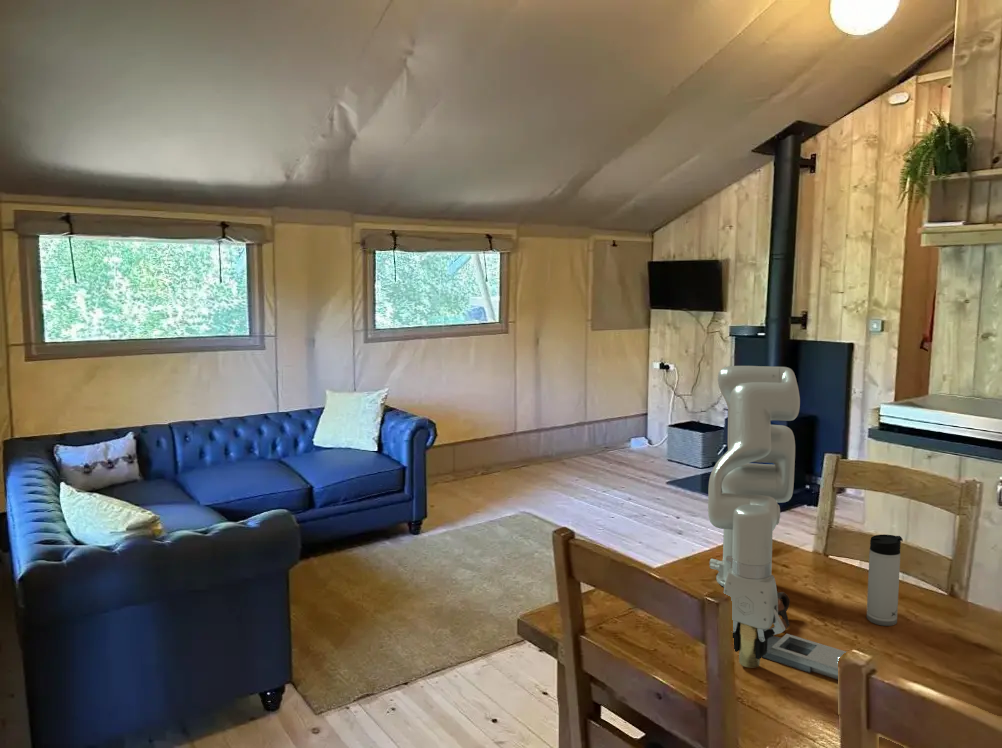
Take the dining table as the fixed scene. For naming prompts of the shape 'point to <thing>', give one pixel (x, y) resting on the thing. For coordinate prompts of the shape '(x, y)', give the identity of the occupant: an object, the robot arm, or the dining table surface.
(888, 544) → the travel mug
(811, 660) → the grey plate with socket
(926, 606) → the dining table surface
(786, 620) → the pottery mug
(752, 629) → the pin
